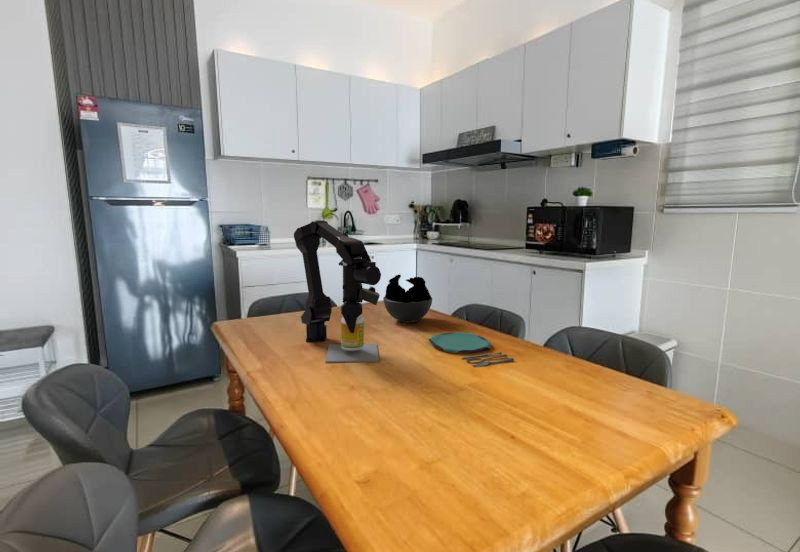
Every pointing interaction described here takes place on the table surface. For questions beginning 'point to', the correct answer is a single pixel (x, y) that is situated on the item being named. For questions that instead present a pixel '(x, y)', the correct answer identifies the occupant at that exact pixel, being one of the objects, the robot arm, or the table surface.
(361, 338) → the supplement bottle
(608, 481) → the table surface
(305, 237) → the robot arm
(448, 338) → the cutlery set
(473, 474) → the table surface
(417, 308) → the coal bowl
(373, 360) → the grey mat
